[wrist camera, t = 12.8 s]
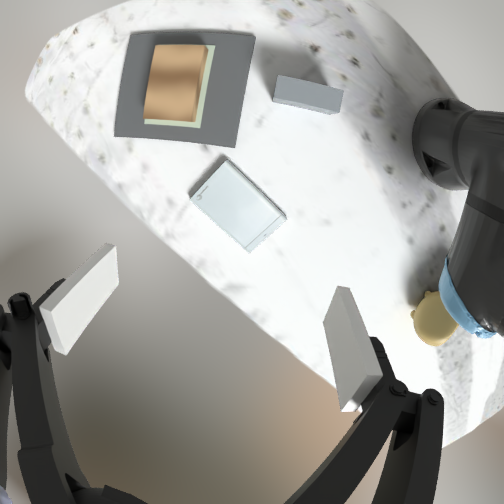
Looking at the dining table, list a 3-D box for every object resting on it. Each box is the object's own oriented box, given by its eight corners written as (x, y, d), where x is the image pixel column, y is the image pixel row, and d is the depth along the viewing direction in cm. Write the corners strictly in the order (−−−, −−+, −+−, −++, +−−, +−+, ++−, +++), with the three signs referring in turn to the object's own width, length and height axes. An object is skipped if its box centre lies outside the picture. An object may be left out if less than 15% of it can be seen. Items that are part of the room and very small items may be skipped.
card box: (195, 122, 35) (190, 121, 33) (149, 118, 35) (142, 118, 33) (208, 49, 30) (204, 45, 28) (161, 49, 30) (155, 45, 28)
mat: (255, 37, 30) (255, 35, 29) (235, 147, 37) (234, 148, 36) (133, 36, 29) (130, 34, 28) (116, 136, 37) (113, 136, 36)
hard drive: (188, 200, 40) (248, 254, 43) (225, 160, 37) (287, 220, 40) (191, 197, 42) (249, 250, 45) (227, 158, 39) (287, 216, 42)
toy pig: (458, 289, 45) (484, 319, 36) (420, 328, 50) (439, 363, 41) (439, 265, 43) (467, 296, 34) (397, 309, 48) (417, 346, 38)
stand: (332, 95, 33) (343, 90, 28) (328, 114, 34) (339, 112, 29) (276, 82, 33) (277, 74, 27) (272, 101, 34) (273, 97, 29)
